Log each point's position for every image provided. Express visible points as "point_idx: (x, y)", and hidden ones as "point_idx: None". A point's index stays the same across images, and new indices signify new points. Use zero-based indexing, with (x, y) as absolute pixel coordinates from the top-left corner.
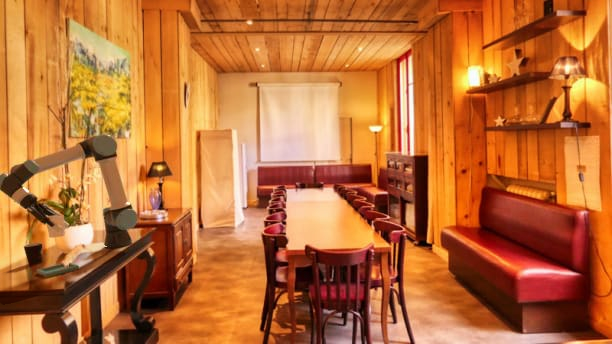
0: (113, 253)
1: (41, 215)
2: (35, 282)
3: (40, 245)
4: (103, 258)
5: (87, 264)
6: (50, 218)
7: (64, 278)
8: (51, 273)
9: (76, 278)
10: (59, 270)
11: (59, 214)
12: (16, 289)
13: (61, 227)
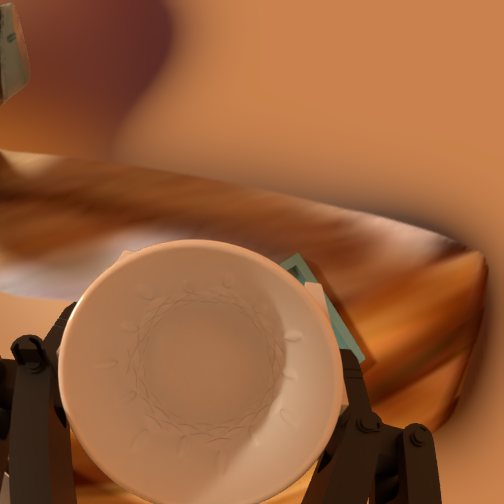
0: (77, 170)
1: (433, 496)
2: (397, 376)
3: (7, 469)
4: (141, 191)
5: (215, 239)
6: (333, 408)
7: (400, 280)
8: (355, 343)
9: (416, 236)
10: (339, 317)
11: (22, 343)
12: (440, 401)
13: (311, 283)
